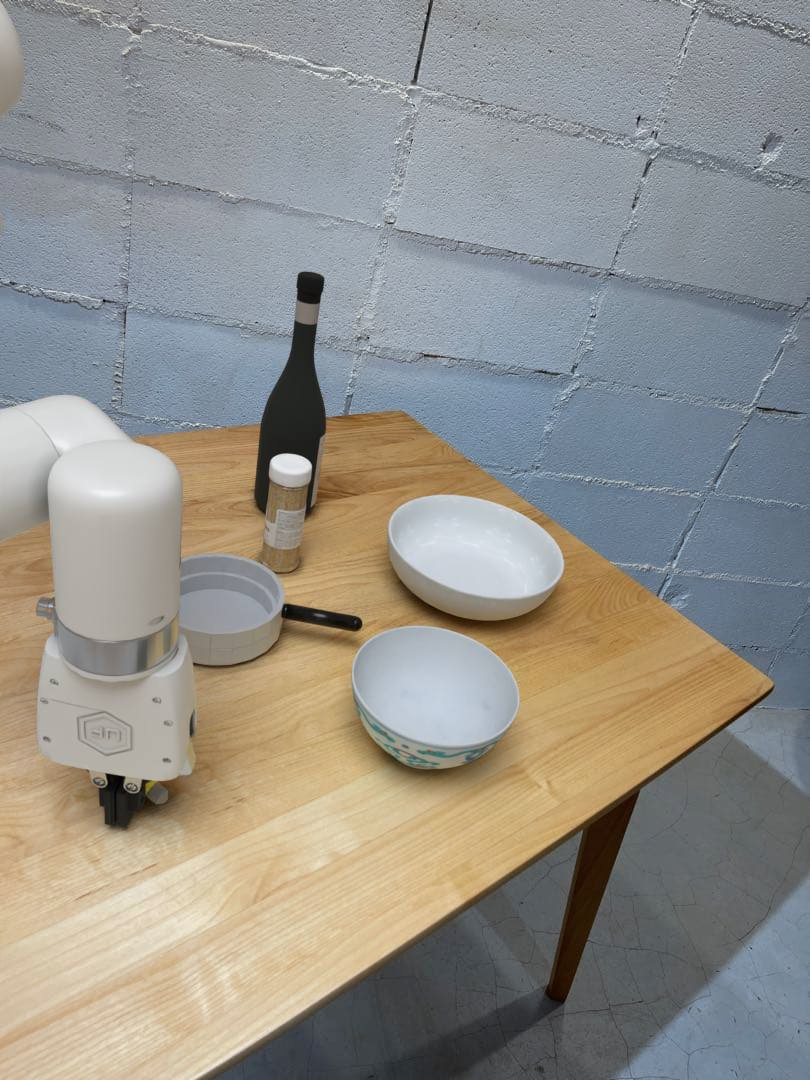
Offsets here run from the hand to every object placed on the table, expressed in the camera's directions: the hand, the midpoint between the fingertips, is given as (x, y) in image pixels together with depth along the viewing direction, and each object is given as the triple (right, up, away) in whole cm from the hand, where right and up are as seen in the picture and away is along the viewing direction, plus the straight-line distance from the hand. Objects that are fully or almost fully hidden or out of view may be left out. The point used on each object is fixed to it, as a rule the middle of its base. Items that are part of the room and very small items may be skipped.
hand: (123, 811), depth 63 cm
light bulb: (0, +1, +3) cm, 3 cm away
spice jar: (+7, +18, +32) cm, 38 cm away
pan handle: (+13, +12, +20) cm, 27 cm away
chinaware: (+23, +2, +13) cm, 26 cm away
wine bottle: (+6, +25, +43) cm, 51 cm away
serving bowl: (+29, +15, +35) cm, 48 cm away
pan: (+2, +12, +21) cm, 25 cm away
